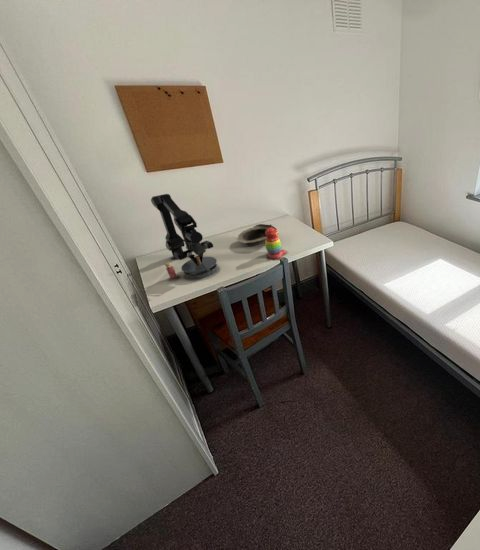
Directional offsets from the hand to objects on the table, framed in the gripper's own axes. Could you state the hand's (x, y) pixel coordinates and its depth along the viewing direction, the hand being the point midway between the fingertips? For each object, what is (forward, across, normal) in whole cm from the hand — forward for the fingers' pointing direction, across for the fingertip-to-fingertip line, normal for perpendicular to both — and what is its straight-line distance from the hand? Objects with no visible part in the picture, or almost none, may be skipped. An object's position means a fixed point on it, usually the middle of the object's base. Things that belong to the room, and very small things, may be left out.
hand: (199, 263), depth 161 cm
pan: (+6, 0, 0) cm, 6 cm away
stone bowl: (+6, +43, +6) cm, 44 cm away
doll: (+6, -12, +7) cm, 15 cm away
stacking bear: (+6, +37, -18) cm, 42 cm away
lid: (+1, 0, 0) cm, 1 cm away
